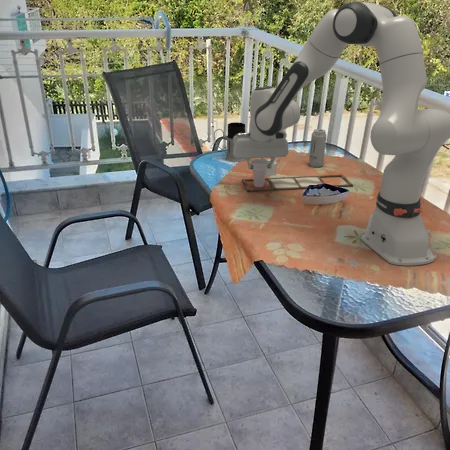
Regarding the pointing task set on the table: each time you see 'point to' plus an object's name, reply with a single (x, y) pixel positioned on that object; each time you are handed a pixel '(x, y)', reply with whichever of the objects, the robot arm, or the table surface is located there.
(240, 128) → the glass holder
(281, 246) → the table surface
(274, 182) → the board
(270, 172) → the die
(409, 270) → the table surface
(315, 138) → the energy drink can
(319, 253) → the table surface
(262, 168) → the smoothie
